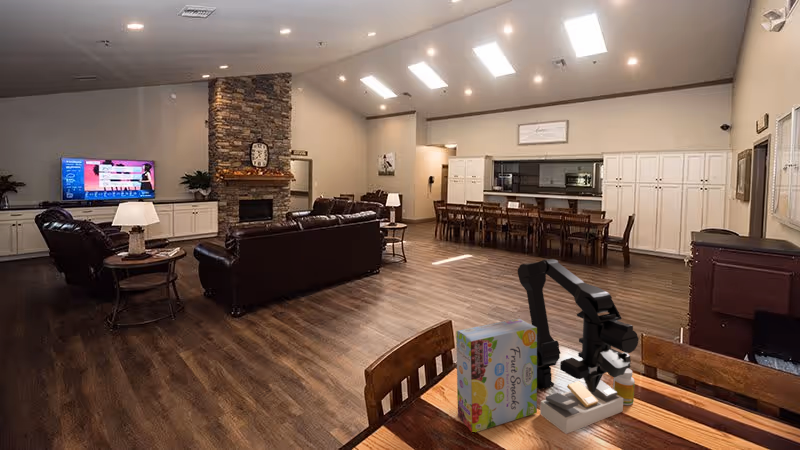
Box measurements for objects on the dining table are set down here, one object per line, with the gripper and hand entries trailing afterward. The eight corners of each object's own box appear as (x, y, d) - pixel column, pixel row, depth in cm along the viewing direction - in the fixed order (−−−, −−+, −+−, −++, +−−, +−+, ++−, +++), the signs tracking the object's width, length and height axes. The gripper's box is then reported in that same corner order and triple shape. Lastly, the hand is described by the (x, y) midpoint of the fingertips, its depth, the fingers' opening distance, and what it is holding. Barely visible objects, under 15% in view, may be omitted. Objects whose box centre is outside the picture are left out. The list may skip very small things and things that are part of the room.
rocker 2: (585, 382, 110) (585, 379, 110) (595, 379, 112) (596, 376, 112) (606, 398, 104) (606, 395, 104) (616, 395, 106) (617, 391, 106)
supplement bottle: (636, 406, 108) (638, 375, 107) (616, 404, 109) (618, 373, 108) (629, 396, 113) (630, 366, 112) (609, 394, 114) (611, 364, 113)
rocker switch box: (540, 414, 105) (540, 400, 105) (594, 395, 114) (595, 382, 114) (566, 433, 97) (566, 419, 97) (622, 411, 106) (623, 397, 105)
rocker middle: (566, 386, 107) (568, 384, 107) (577, 383, 109) (579, 380, 108) (586, 407, 101) (587, 404, 101) (597, 403, 103) (598, 400, 103)
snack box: (517, 398, 113) (519, 316, 110) (537, 414, 105) (540, 327, 102) (455, 415, 105) (455, 328, 102) (471, 435, 97) (472, 341, 94)
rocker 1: (545, 400, 104) (545, 396, 104) (557, 396, 106) (557, 392, 106) (566, 409, 98) (565, 405, 98) (578, 405, 99) (577, 401, 99)
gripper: (596, 357, 89) (594, 417, 91) (647, 342, 97) (643, 398, 98) (559, 339, 99) (557, 394, 101) (607, 327, 107) (605, 378, 109)
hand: (591, 391), depth 102 cm, fingers closed
